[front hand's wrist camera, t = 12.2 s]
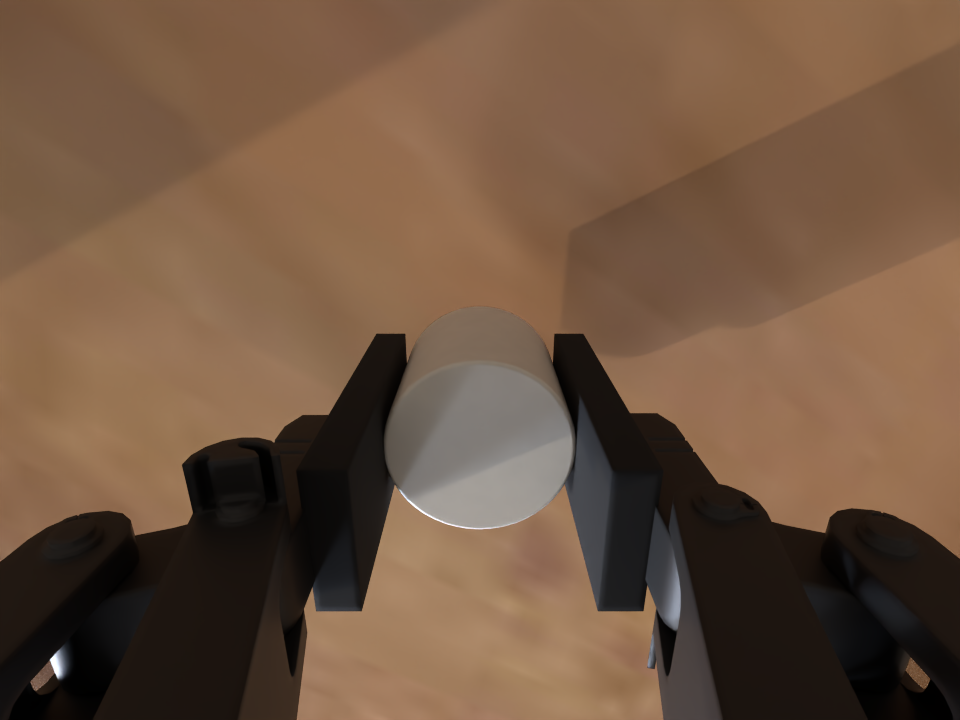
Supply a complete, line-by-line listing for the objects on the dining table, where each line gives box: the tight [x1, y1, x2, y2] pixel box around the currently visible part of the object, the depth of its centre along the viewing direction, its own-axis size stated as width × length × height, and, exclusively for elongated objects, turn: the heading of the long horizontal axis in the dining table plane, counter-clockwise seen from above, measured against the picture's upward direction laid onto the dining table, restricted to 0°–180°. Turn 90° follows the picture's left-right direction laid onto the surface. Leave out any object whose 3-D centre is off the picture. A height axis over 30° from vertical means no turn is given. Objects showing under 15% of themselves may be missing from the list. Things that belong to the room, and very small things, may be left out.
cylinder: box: [383, 306, 576, 529], centre depth 13 cm, size 4×4×4 cm
